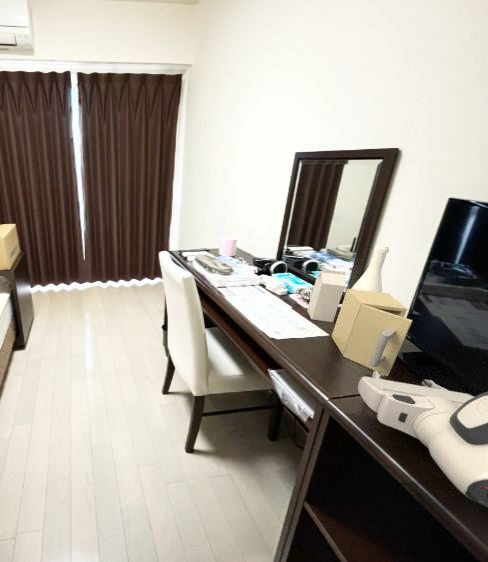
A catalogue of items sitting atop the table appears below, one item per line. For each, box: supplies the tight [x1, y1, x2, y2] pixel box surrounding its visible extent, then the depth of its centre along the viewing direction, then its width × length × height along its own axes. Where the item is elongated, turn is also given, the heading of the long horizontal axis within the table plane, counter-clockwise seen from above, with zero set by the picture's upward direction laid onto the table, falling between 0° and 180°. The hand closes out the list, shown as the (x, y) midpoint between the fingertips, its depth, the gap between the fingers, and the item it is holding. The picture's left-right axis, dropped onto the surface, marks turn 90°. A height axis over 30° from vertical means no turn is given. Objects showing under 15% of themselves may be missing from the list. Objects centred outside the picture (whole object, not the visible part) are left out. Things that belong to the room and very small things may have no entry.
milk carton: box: [307, 269, 346, 323], centre depth 113 cm, size 7×7×19 cm
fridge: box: [331, 288, 408, 356], centre depth 94 cm, size 11×11×18 cm
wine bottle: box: [350, 244, 390, 293], centre depth 107 cm, size 10×10×30 cm
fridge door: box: [342, 305, 413, 377], centre depth 85 cm, size 6×11×18 cm, turn 35°
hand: (400, 377), depth 71 cm, fingers open, 8 cm apart
